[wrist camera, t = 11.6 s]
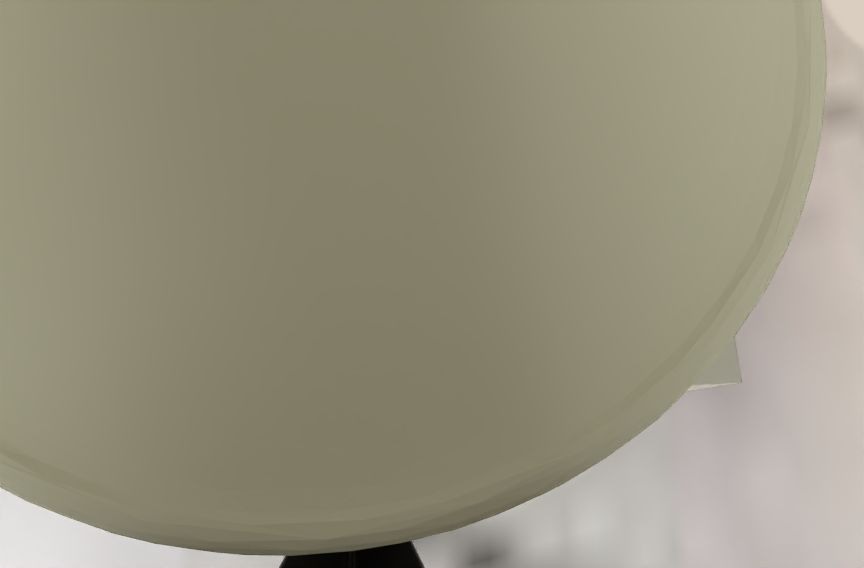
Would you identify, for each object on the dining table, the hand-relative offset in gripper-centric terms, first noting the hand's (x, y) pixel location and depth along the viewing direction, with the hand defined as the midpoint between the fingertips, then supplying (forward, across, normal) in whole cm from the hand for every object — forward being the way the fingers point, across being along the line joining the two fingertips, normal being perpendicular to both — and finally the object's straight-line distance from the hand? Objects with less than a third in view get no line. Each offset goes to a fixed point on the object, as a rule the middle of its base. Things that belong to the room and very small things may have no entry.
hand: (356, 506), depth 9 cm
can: (+8, 0, +2) cm, 8 cm away
